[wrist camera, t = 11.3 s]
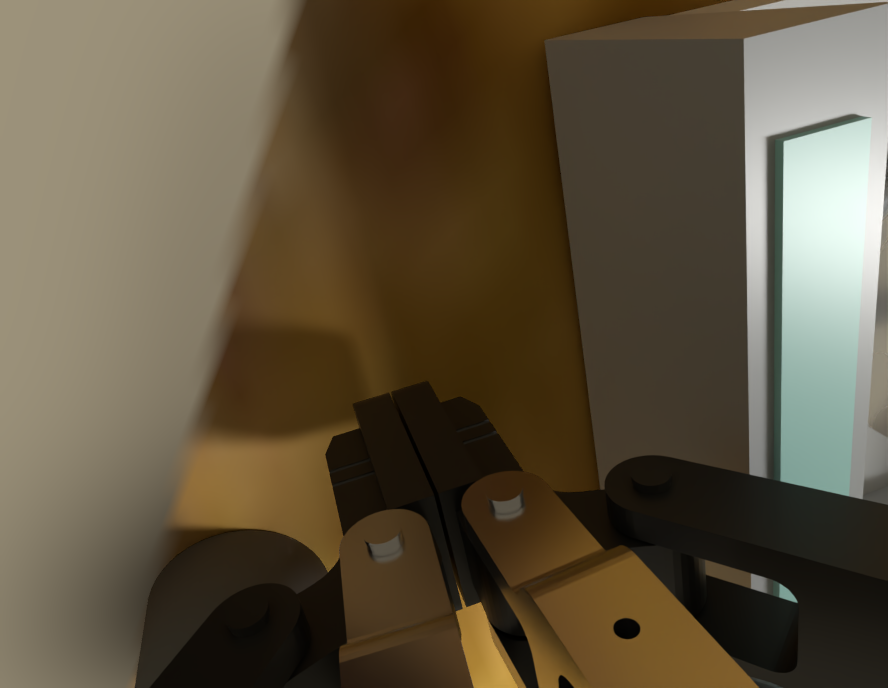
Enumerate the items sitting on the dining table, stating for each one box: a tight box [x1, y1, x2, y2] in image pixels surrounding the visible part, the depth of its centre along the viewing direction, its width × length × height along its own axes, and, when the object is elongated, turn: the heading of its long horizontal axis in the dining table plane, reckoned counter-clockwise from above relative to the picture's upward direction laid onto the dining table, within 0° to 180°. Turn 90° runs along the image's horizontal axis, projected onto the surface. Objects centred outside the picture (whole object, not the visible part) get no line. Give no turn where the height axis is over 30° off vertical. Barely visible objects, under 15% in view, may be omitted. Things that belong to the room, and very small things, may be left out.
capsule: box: [135, 530, 328, 688], centre depth 14 cm, size 4×4×4 cm
